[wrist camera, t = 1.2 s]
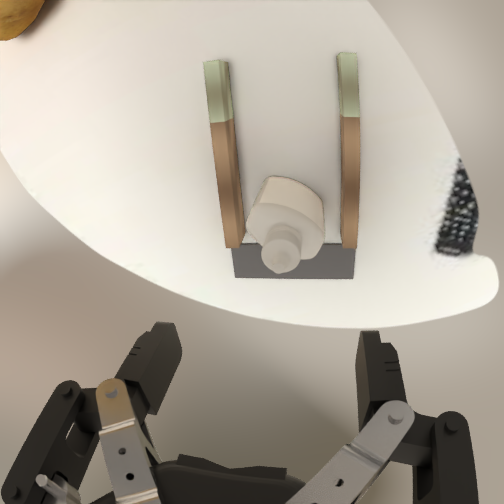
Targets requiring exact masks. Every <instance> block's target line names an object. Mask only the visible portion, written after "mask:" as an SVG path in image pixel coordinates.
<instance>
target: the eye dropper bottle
mask: <svg viewBox="0 0 504 504" xmlns="http://www.w3.org/2000/svg"><path fill="white" fill-rule="evenodd" d="M246 229H247V231H248V232H249V234H250V235H251V236H252V237H253V238H254V239H255V240H256V241H257V242H258V243H259V244H260V245H261V246H263V248H262V251H261V257H262V261H263V263H264V264H265V266H267V267H268V268H269V269H270V270H272V271H274V272H275V273H277V274H281V273H285V272H289V271H291V270H293V269H294V268H296V267H297V265H298V264H299V262H300V259H311V258H313V257H315V256H316V254H317V253H318V251H319V250H320V248H321V246H322V244H323V242H324V238H325V224H324V211H323V203H322V201H321V199H320V198H319V197H318V196H317V195H316V194H315V193H314V192H313V191H312V190H311V189H309V188H308V187H307V186H305V185H303V184H302V183H300V182H297V181H295V180H292V179H289V178H284V177H275V176H274V177H268V178H266V180H265V181H264V183H263V185H262V187H261V189H260V191H259V193H258V196H257V198H256V200H255V202H254V204H253V207H252V209H251V211H250V213H249V216H248V218H247V221H246Z"/></svg>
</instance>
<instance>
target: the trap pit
mask: <svg viewBox="0 0 504 504" xmlns="http://www.w3.org/2000/svg"><path fill="white" fill-rule="evenodd" d="M262 248H263V246H261V245H260V244H241V245H240V247H239V248H231V250H232V257H233V265H234V272H235V278H275V279H353V274H354V262H355V249H356V248H343V246H342V244H322V246H321V248H320V250H319V251H318V253H317V254H316V256H315V257H313V258H311V259H300V262H299V264H298V265H297V267H296V268H294V269H293V270H291V271H289V272H285V273H281V274H277V273H275V272H274V271H272V270H270V269H269V268H268V267H267V266H265V264H264V263H263V261H262V257H261V251H262Z"/></svg>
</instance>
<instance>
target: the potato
mask: <svg viewBox="0 0 504 504" xmlns="http://www.w3.org/2000/svg"><path fill="white" fill-rule="evenodd" d="M44 2H45V0H0V41H6V40H10V39H13V38H16V37H18V36H19V35H20V34H21V33H22V32H23V31H24V30H25V29H26V28H27V27H28V26H29V25H30V24H31V23H32V22H33V21H34V19H35V18H36V17H37V14H38V12H39V10H40V9H41V7H42V5H43V3H44Z"/></svg>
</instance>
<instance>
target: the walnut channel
mask: <svg viewBox="0 0 504 504" xmlns="http://www.w3.org/2000/svg"><path fill="white" fill-rule="evenodd" d="M203 65H204V74H205V84H206V93H207V102H208V111H209V119H210V128H211V136H212V145H213V153H214V161H215V169H216V177H217V185H218V193H219V200H220V208H221V215H222V223H223V230H224V237H225V245H226V248H239V247H240V245H241V243H242V240H243V238H244V236H245V224H244V215H243V206H242V196H241V186H240V177H239V167H238V158H237V148H236V138H235V129H234V119H233V109H232V99H231V89H230V79H229V69H228V62H225V61H221V60H214V61H208V62H203ZM337 67H338V82H339V100H340V124H341V229H340V234H341V240H342V246H343V248H357V235H358V217H359V192H360V112H359V87H358V70H357V56H356V53H339V54H338V55H337Z"/></svg>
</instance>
